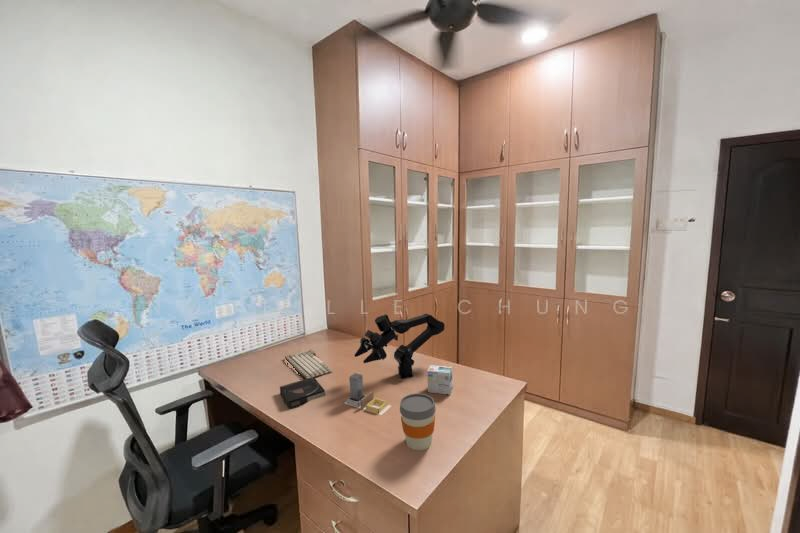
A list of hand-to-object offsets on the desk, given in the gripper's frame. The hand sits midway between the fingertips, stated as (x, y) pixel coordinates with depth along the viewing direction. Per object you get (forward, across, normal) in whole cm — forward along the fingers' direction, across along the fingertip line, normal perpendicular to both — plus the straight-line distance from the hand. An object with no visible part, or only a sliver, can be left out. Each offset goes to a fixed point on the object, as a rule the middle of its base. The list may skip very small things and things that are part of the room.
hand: (359, 359), depth 151 cm
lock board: (+11, +14, +12) cm, 22 cm away
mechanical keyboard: (+17, -46, +10) cm, 50 cm away
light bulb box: (-20, +23, +27) cm, 41 cm away
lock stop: (+12, +10, +10) cm, 19 cm away
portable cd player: (+29, -13, +5) cm, 32 cm away
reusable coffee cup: (+7, +46, +14) cm, 48 cm away
